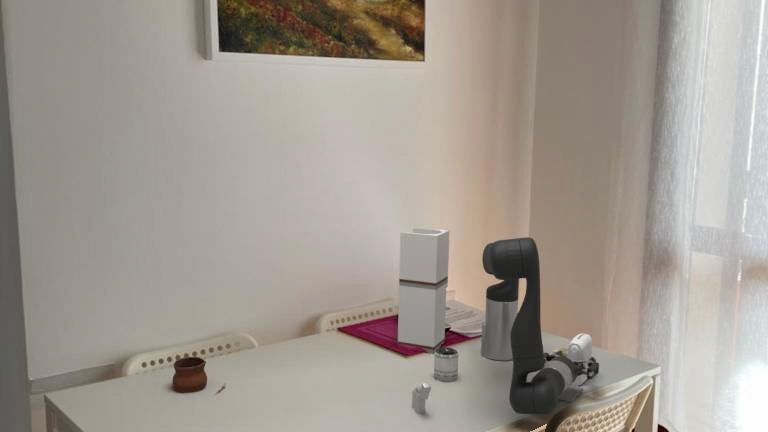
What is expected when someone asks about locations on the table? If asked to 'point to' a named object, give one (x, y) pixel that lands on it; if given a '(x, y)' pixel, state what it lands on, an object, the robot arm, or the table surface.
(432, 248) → the tall white banded vase
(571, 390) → the felt pad
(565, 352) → the wooden block
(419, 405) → the lighter
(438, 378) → the camera lens
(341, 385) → the table surface
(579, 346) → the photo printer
